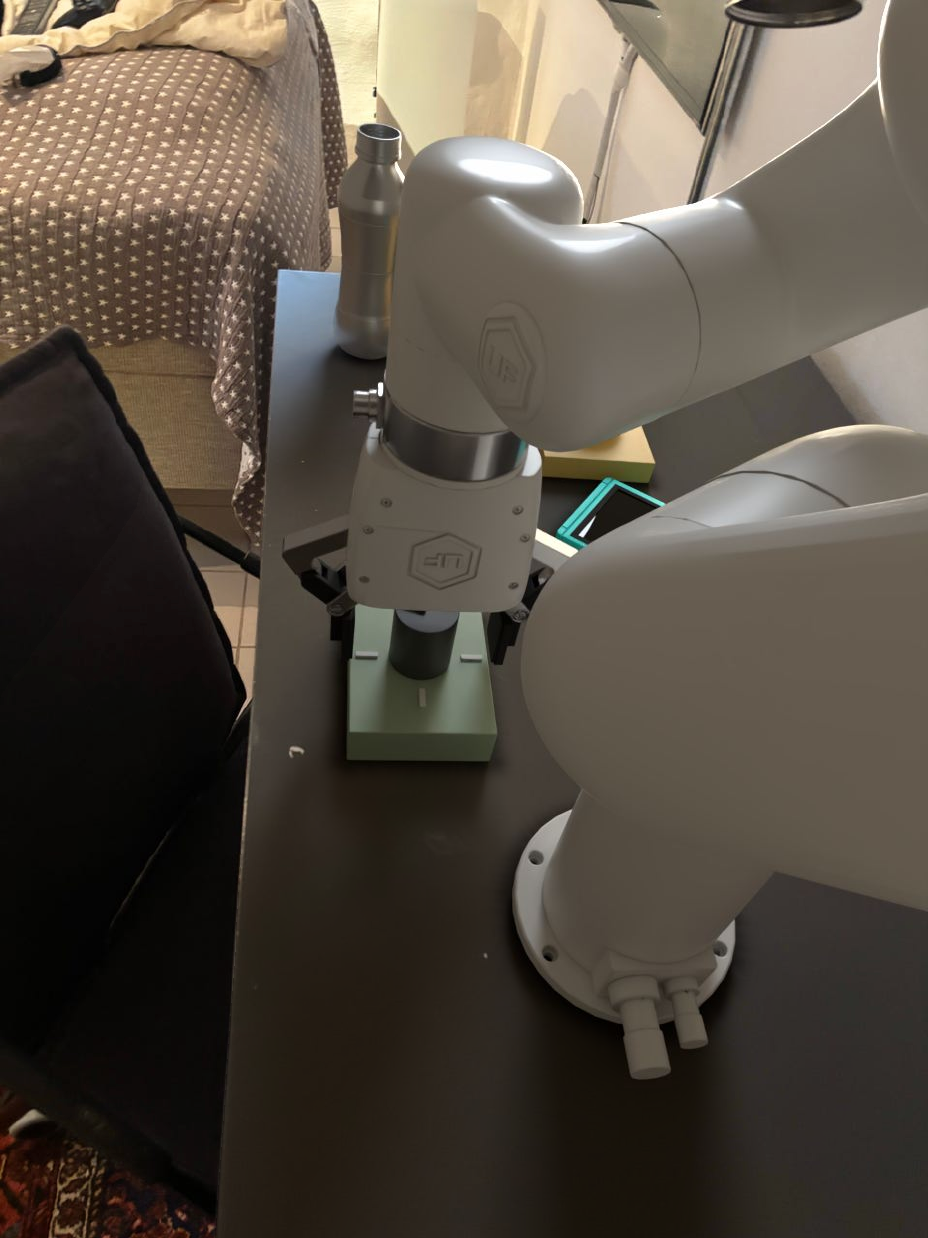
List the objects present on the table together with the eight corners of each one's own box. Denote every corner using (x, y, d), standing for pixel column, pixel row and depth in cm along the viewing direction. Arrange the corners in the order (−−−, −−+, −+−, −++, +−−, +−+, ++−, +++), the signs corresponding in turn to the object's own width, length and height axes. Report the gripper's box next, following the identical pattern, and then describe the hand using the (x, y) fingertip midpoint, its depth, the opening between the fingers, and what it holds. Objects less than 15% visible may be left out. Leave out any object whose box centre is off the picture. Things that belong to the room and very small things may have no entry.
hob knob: (457, 643, 58) (467, 592, 54) (440, 688, 55) (450, 637, 52) (399, 626, 58) (406, 574, 55) (380, 670, 55) (386, 618, 52)
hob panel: (489, 761, 55) (498, 732, 53) (346, 760, 54) (348, 730, 52) (472, 621, 63) (479, 591, 61) (347, 617, 62) (349, 586, 60)
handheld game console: (732, 638, 66) (739, 626, 65) (549, 543, 71) (553, 531, 70) (773, 568, 72) (780, 556, 71) (603, 485, 77) (607, 472, 76)
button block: (648, 483, 78) (662, 446, 75) (539, 476, 76) (549, 438, 74) (619, 400, 87) (630, 364, 84) (520, 392, 85) (528, 356, 82)
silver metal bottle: (374, 375, 83) (391, 153, 69) (317, 348, 85) (322, 126, 71) (412, 350, 88) (435, 135, 73) (357, 325, 89) (369, 110, 75)
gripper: (274, 455, 39) (279, 689, 52) (640, 478, 42) (561, 695, 55) (283, 364, 45) (286, 598, 57) (610, 390, 47) (544, 608, 60)
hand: (421, 645), depth 56 cm, fingers open, 9 cm apart
